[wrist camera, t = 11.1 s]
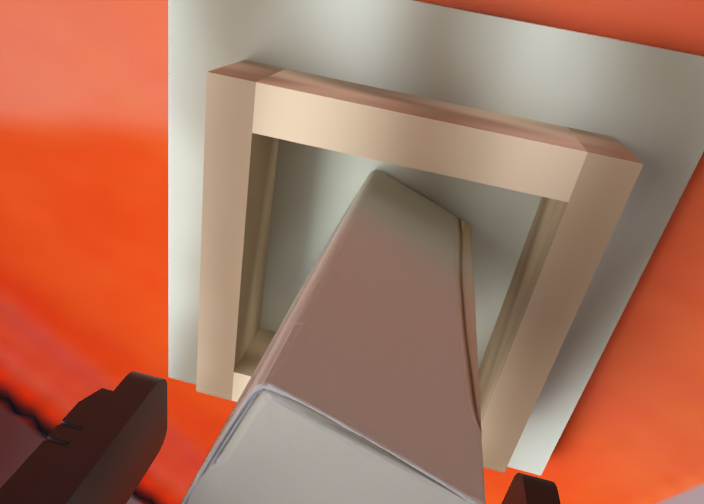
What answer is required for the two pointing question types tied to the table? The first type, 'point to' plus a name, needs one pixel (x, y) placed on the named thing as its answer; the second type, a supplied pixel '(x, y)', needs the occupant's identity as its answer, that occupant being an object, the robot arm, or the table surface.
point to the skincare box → (365, 372)
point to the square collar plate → (422, 179)
